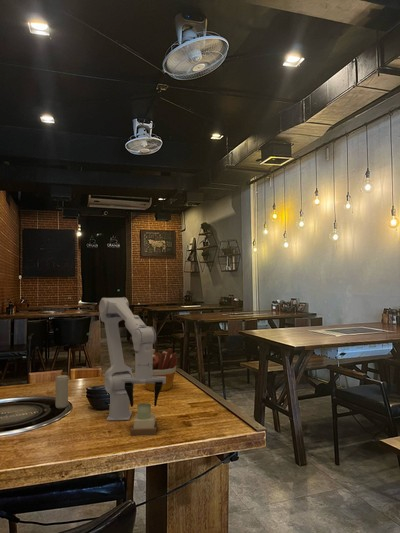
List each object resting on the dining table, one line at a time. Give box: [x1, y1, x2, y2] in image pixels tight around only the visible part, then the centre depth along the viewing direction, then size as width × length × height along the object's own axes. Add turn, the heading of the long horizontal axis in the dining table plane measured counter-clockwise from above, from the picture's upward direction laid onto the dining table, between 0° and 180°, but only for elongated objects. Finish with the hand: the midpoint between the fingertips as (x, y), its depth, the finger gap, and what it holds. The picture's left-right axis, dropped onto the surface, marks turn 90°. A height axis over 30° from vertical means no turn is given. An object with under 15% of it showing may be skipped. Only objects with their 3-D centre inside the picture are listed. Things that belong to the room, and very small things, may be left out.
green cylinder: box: [136, 402, 152, 420], centre depth 131 cm, size 4×4×4 cm
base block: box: [130, 420, 158, 437], centre depth 130 cm, size 8×8×2 cm
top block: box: [133, 413, 156, 429], centre depth 131 cm, size 6×6×2 cm
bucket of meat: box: [144, 347, 179, 392], centre depth 186 cm, size 20×16×20 cm
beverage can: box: [54, 374, 69, 409], centre depth 158 cm, size 5×5×12 cm
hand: (143, 405), depth 131 cm, fingers open, 7 cm apart
